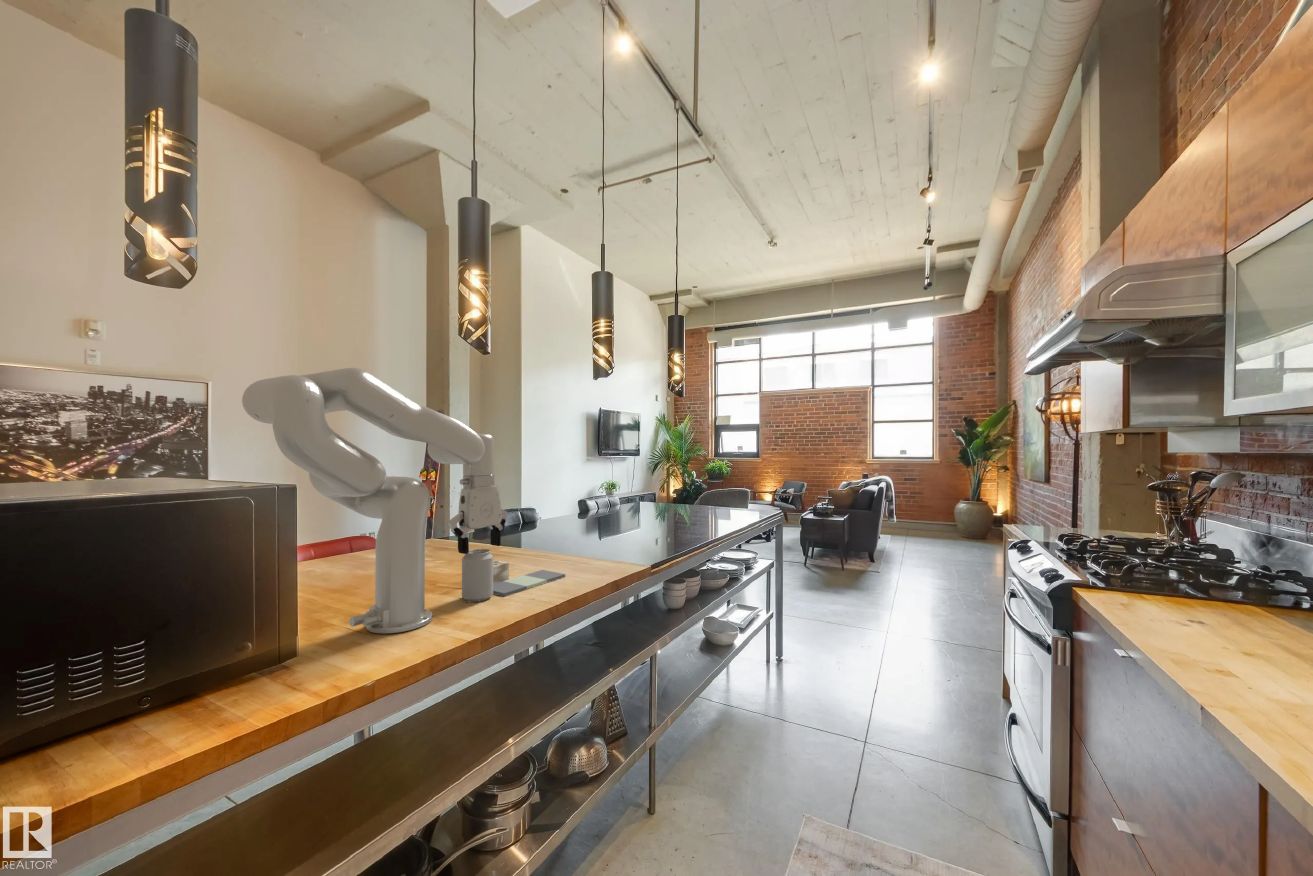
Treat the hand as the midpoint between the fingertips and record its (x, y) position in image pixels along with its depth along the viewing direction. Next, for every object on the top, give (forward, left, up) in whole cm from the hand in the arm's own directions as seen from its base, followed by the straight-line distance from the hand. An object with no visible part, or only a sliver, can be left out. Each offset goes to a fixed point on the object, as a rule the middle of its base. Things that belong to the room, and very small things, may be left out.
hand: (480, 549), depth 123 cm
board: (+15, 0, -12) cm, 19 cm away
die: (+13, +9, -12) cm, 20 cm away
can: (-1, 0, -12) cm, 12 cm away
